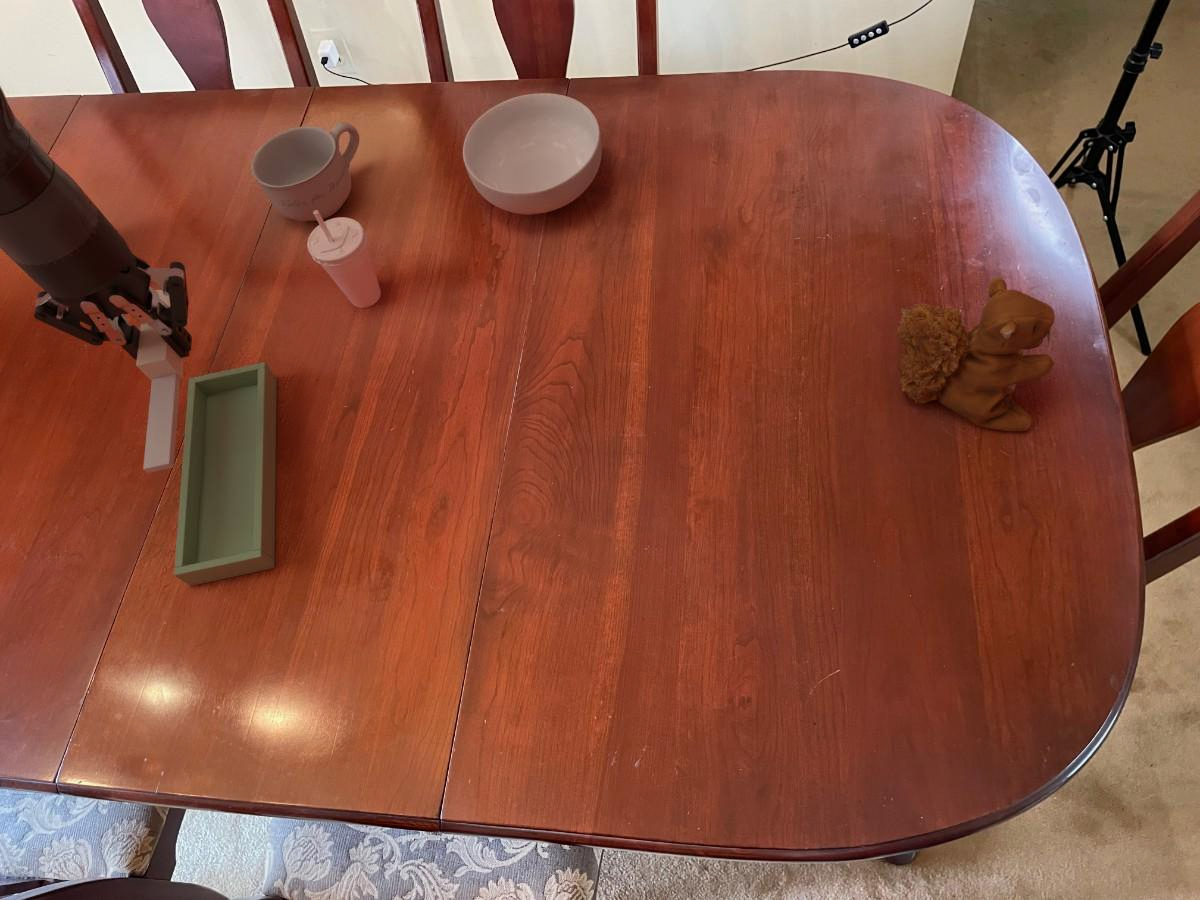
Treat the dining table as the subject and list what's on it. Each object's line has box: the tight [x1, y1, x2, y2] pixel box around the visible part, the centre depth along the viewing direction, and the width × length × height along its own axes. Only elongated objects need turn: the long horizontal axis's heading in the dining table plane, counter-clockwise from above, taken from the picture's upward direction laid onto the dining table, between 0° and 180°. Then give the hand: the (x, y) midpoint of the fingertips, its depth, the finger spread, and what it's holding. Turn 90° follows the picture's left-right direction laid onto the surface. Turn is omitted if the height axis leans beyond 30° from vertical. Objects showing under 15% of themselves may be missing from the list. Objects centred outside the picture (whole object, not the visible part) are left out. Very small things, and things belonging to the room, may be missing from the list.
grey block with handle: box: [135, 288, 187, 474], centre depth 79 cm, size 19×3×3 cm, turn 11°
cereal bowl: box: [462, 92, 603, 215], centre depth 103 cm, size 17×17×7 cm
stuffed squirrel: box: [896, 277, 1056, 433], centre depth 80 cm, size 10×14×13 cm
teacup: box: [250, 121, 360, 222], centre depth 106 cm, size 14×11×8 cm
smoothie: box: [306, 210, 382, 309], centre depth 94 cm, size 6×6×14 cm
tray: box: [173, 361, 278, 587], centre depth 89 cm, size 24×9×3 cm, turn 10°
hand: (168, 353), depth 82 cm, fingers closed on grey block with handle, 3 cm apart
